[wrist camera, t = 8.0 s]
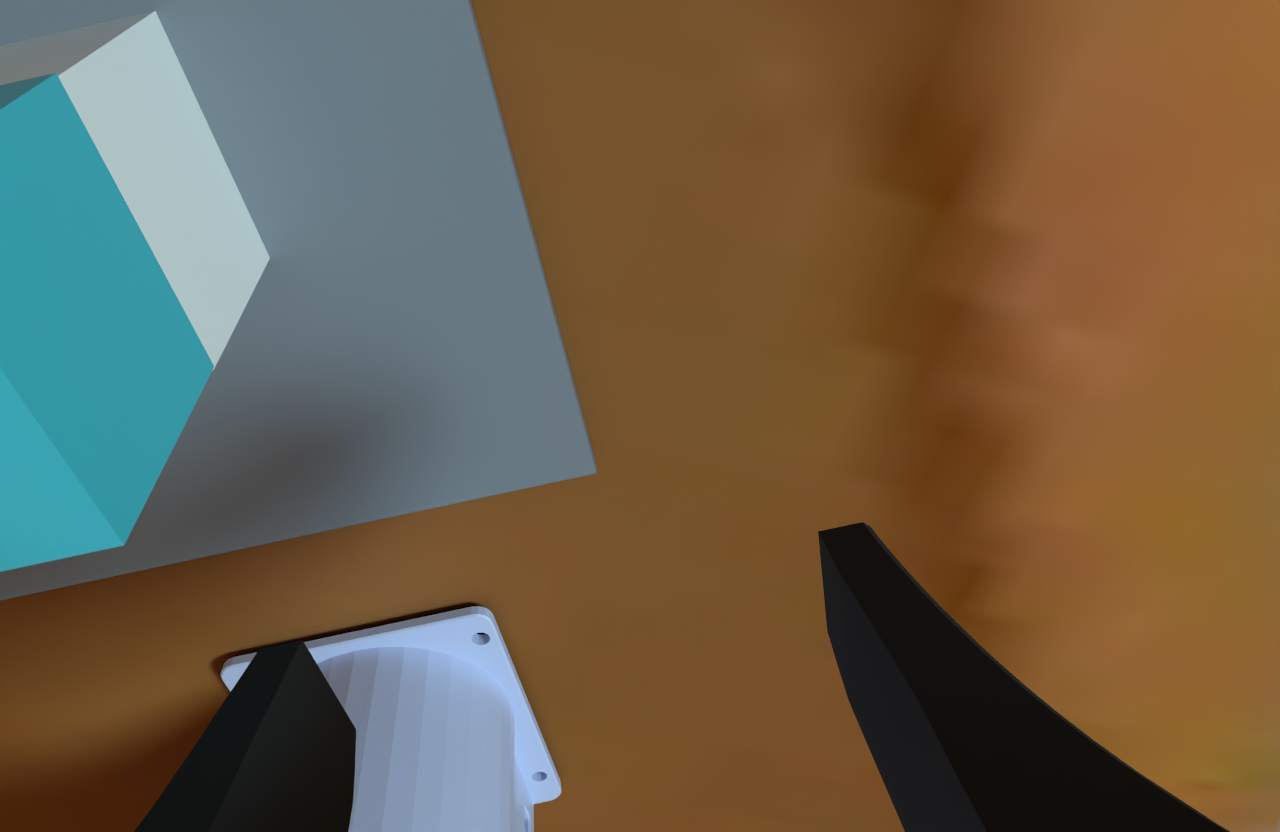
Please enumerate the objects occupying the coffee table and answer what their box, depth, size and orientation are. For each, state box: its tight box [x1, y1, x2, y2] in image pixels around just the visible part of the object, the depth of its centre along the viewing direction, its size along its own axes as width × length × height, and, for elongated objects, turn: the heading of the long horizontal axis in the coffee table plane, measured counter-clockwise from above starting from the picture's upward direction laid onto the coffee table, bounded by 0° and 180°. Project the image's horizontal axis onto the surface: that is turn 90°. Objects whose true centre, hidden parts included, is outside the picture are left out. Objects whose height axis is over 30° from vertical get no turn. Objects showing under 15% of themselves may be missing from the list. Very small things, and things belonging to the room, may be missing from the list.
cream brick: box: [0, 11, 270, 371], centre depth 16 cm, size 5×5×4 cm
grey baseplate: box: [0, 0, 597, 601], centre depth 20 cm, size 16×16×1 cm
